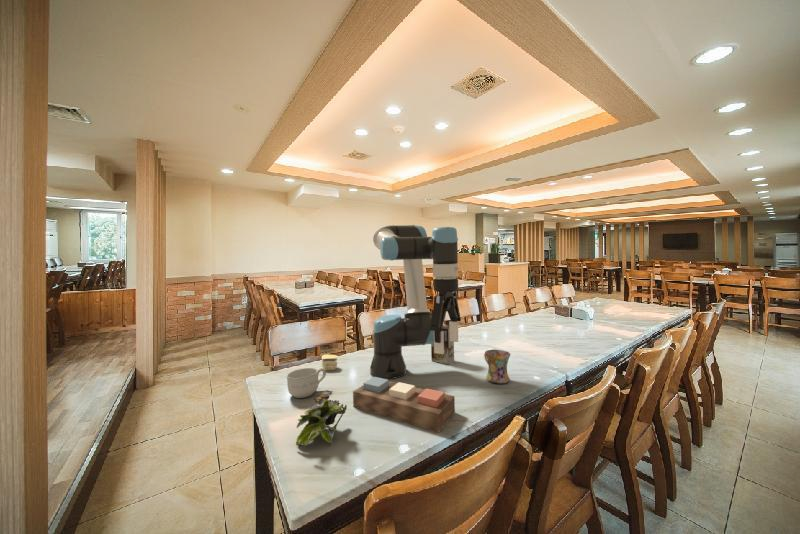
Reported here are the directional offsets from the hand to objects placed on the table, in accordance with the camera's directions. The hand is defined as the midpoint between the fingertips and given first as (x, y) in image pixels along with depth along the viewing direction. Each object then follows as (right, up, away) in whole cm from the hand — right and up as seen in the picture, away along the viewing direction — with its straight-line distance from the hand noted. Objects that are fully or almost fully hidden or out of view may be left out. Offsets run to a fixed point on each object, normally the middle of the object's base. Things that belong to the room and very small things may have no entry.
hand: (447, 347), depth 92 cm
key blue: (-22, -17, +7) cm, 29 cm away
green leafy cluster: (-35, -22, -12) cm, 43 cm away
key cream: (-14, -17, +2) cm, 22 cm away
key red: (-5, -17, -3) cm, 18 cm away
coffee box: (+5, -19, +46) cm, 50 cm away
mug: (+23, -19, +24) cm, 38 cm away
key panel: (-14, -20, +2) cm, 25 cm away
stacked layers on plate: (-46, -21, +40) cm, 64 cm away
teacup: (-48, -21, +16) cm, 54 cm away
